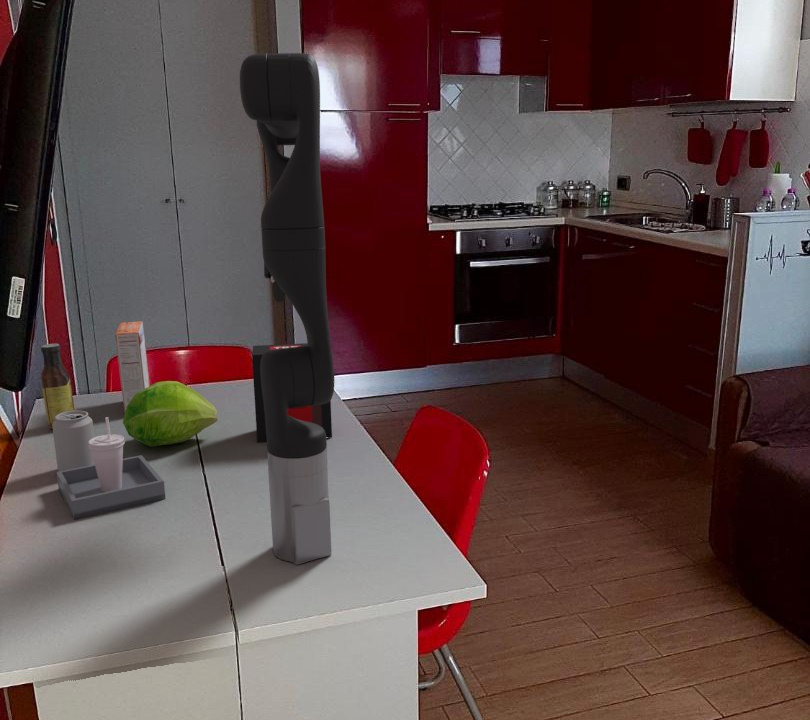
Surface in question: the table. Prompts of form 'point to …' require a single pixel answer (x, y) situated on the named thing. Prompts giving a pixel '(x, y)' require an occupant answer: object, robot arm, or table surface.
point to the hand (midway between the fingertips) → (295, 303)
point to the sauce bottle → (55, 384)
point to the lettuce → (167, 414)
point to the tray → (90, 500)
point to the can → (73, 439)
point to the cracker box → (131, 359)
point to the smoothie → (108, 459)
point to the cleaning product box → (308, 413)
